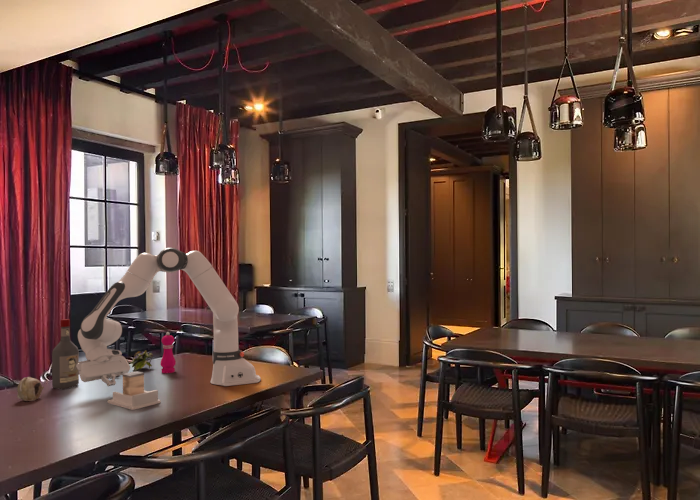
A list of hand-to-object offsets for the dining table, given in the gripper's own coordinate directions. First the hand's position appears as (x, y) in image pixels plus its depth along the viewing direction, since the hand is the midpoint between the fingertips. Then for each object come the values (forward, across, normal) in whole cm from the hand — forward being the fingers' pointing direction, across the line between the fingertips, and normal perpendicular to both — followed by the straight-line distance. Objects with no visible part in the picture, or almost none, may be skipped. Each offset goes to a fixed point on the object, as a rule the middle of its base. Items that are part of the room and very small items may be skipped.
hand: (112, 384), depth 223 cm
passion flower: (-24, +39, +32) cm, 56 cm away
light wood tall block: (+13, 0, -8) cm, 16 cm away
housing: (+15, 0, -7) cm, 16 cm away
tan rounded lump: (-14, -21, +22) cm, 33 cm away
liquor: (-21, -2, +29) cm, 36 cm away
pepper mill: (-12, +43, +20) cm, 49 cm away
